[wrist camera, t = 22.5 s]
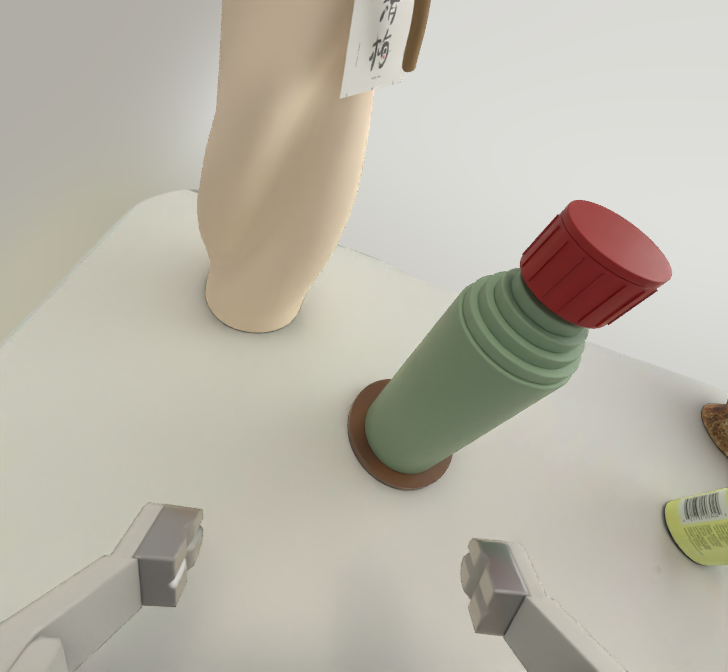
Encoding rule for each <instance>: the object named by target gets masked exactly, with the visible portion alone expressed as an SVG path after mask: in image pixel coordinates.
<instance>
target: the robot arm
mask: <svg viewBox="0 0 728 672" xmlns="http://www.w3.org/2000/svg"><path fill="white" fill-rule="evenodd" d="M202 519H203V509H197V508H190V507H183V506H175V505H168V504H159V503H151V502H148V503H147V504H146V505H145V506H144V507H143V508H142V509H141V511H140V512H139V514H138V515H137V517H136V518H135V519H134V521H133V522H132V524H131V525H130V527H129V528H128V530H127V531H126V533H125V534H124V536H123V537H122V539H121V540H120V542H119V543H118V545H117V546H116V548H115V549H114V551H113V552H112V553H111V555H110V556H107V555H104V556H102V557H101V558H99V559H98V560H96V561H95V562H93V563H92V564H90V565H89V566H87V567H86V568H84V569H83V570H81V571H80V572H78V573H76V574H75V575H73V576H72V577H70V578H69V579H67V580H66V581H64V582H63V583H61V584H60V585H58V586H57V587H55V588H54V589H52V590H51V591H49V592H48V593H46V594H44V595H43V596H41V597H40V598H38V599H37V600H35V601H34V602H32V603H31V604H29V605H28V606H26V607H25V608H23V609H22V610H20V611H19V612H17V613H15V614H14V615H12V616H11V617H9V618H8V619H6V620H5V621H3V622H2V623H0V672H74V671H75V670H76V669H77V668H78V667H79V666H81V665H82V664H83V663H84V662H85V661H86V660H87V659H88V658H89V657H90V656H91V655H92V654H93V653H94V652H95V651H96V650H98V649H99V648H100V647H101V646H102V645H103V644H104V643H105V642H106V641H107V640H108V639H109V638H110V637H111V636H112V635H113V634H114V633H116V632H117V631H118V630H119V629H120V628H121V627H122V626H123V625H124V624H125V623H126V622H127V621H128V620H129V619H130V618H131V617H132V616H134V615H135V614H136V613H137V612H138V611H139V610H140V609H141V608H142V605H145V606H164V607H176V605H177V603H178V601H179V598H180V596H181V594H182V592H183V589H184V587H185V585H186V582H187V570H189V569H190V568H191V567H192V566H194V564H195V561H196V559H197V557H198V554H199V551H200V547H201V544H202V538H203V528H202V527H201V526H200V524H201V522H202ZM468 548H469V553H468V554H466V555H465V556H464V557H463V560H462V563H461V573H460V574H461V582H462V586H463V590H464V592H465V593H466V594H467V596H468V597H469V598H470V599H471V601H470V604H469V606H468V609H469V612H470V616H471V620H472V623H473V627H474V630H475V633H480V634H488V635H497V636H504V640H505V641H506V642H507V644H508V645H509V647H510V648H511V649H512V651H513V652H514V654H515V655H516V656H517V658H518V659H519V661H520V662H521V663H522V665H523V666H524V668H525V669H526V670H527V672H628V671H627V670H626V669H625V668H624V667H623V666H622V665H620V664H619V663H618V662H617V661H616V660H615V659H614V658H613V657H612V656H611V655H610V654H609V653H608V652H607V651H606V650H605V649H604V648H603V647H602V646H601V645H600V644H599V643H598V642H597V641H596V640H595V639H594V638H593V637H592V636H591V635H590V634H589V633H588V632H587V631H586V630H585V629H584V628H583V627H582V626H580V625H579V624H578V623H577V622H576V621H575V620H574V619H573V618H572V617H571V616H570V615H569V614H568V613H567V612H566V611H565V610H564V609H563V608H562V607H561V606H560V605H559V604H558V603H557V602H556V601H555V600H554V599H552V598H548V597H547V595H546V593H545V590H544V588H543V586H542V584H541V582H540V580H539V578H538V576H537V574H536V572H535V570H534V567H533V565H532V563H531V561H530V559H529V557H528V555H527V553H526V551H525V549H524V547H523V546H522V545H521V544H520V543H514V542H503V541H498V540H487V539H477V538H473V539H472V540H470V542H469V545H468Z"/></svg>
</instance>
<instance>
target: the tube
mask: <svg viewBox="0 0 728 672" xmlns="http://www.w3.org/2000/svg"><path fill="white" fill-rule="evenodd" d="M665 518H666V522H667V526H668V528H669V530H670V533H671V535H672V537H673V539H674V540H675V542H676V543H677V544H678V546H679V547H680V548H681V549H682V551H683V552H684V553H685V554H686V555H687V556H688V557H690V558H691V559H692V560H693V561H695V562H697V563H699V564H701V565H728V487H727V488H723V489H719V490H715V491H710V492H706V493H702V494H697V495H693V496H689V497H684V498H680V499H676V500H673V501H670V502H668V503H667V505H666V508H665Z"/></svg>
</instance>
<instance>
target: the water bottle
mask: <svg viewBox="0 0 728 672" xmlns="http://www.w3.org/2000/svg"><path fill="white" fill-rule="evenodd" d="M430 1H431V0H223V1H222V21H221V40H220V61H219V76H218V92H217V93H218V94H217V107H216V113H215V117H214V120H213V124H212V128H211V131H210V135H209V139H208V143H207V146H206V151H205V156H204V161H203V168H202V174H201V180H200V187H199V191H198V198H197V214H198V223H199V230H200V234H201V237H202V239H203V242H204V244H205V247H206V249H207V252H208V254H209V258H210V268H209V273H208V278H207V284H206V290H205V296H206V301H207V303H208V306H209V308H210V309H211V311H212V312H213V314H214V315H215V316H216V317H217V318H218V319H219V320H220V321H222V322H223V323H224V324H226V325H228V326H230V327H232V328H235V329H237V330H241V331H246V332H254V333H262V332H270V331H275V330H278V329H280V328H282V327H284V326H286V325H288V324H289V323H290V322H291V321H292V320H293V319H294V318H295V317H296V316H297V314H298V312H299V310H300V307H301V304H302V302H303V300H304V297H305V296H306V294H307V292H308V290H309V288H310V286H311V285H312V284H313V282H314V281H315V280H316V279H317V277H318V276H319V274H320V273H321V271H322V270H323V268H324V267H325V265H326V263H327V262H328V260H329V258H330V257H331V255H332V253H333V251H334V249H335V247H336V245H337V244H338V242H339V239H340V237H341V235H342V233H343V231H344V229H345V226H346V224H347V221H348V219H349V217H350V214H351V211H352V208H353V205H354V202H355V199H356V196H357V192H358V187H359V184H360V179H361V175H362V170H363V164H364V158H365V153H366V146H367V141H368V134H369V127H370V121H371V115H372V107H373V99H374V90H375V89H378V88H381V87H385V86H388V85H392V84H396V83H400V82H401V80H402V76H403V72H404V71H405V72H411V71H413V70H414V69H415V67H416V63H417V58H418V55H419V51H420V48H421V44H422V40H423V37H424V33H425V28H426V24H427V19H428V13H429V8H430Z"/></svg>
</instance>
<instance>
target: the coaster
mask: <svg viewBox="0 0 728 672" xmlns="http://www.w3.org/2000/svg"><path fill="white" fill-rule="evenodd" d="M390 380H391V379H386V380H380V381H377V382H374V383H372V384H370V385H369V386H367V387H366V388H365V389H363V390H362V391H361V392H360V394H359V395H358V396H357V398H356V399H355V401H354V402H353V404H352V407H351V409H350V412H349V417H348V434H349V439H350V443H351V446H352V448H353V451H354V453H355V455H356V457H357V458H358V460H359V462H360V463H361V464H362V465H363V467H364V468H365V469H366V470H367V471H368V472H369V473H370V474H371V475H372V476H373V477H375V478H376V479H377V480H379V481H381V482H382V483H384V484H386V485H388V486H391V487H394V488H397V489H403V490H415V489H420V488H423V487H426V486H428V485H430V484H432V483H434V482H435V481H437V480H438V479H439V478H440V477H441V476H442V475H443V474H444V473H445V471H446V470H447V468H448V466H449V464H450V462H451V458H452V455H453V454H452V455H450V456H449V457H447V458H445V459H444V460H442V461H440V462H439V463H437V464H436V465H434V466H432V467H431V468H429V469H428V470H426V471H424V472H421V473H417V474H405V473H401V472H398V471H395V470H393V469H391V468H389V467H388V466H386V465H385V464H384V463H382V462H381V461H380V460H379V459H378V458H377V456H376V455H375V454H374V452H373V451H372V449H371V447H370V445H369V443H368V440H367V437H366V433H365V418H366V414H367V411H368V409H369V407H370V406H371V404H372V403H373V402H374V400H375V399H376V398H377V397H378V395H379V394H380V393H381V392H382V390H383V389H384V388H385V387H386V385H387V384H388V383H389V382H390Z"/></svg>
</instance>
